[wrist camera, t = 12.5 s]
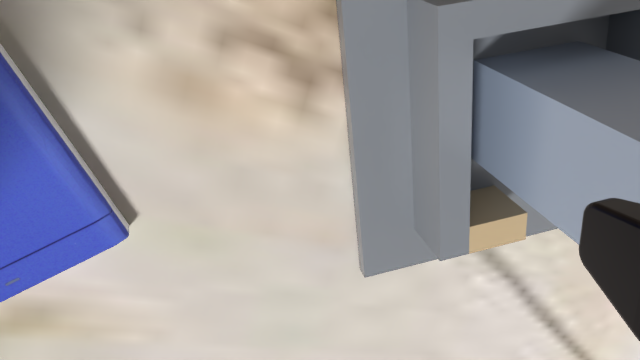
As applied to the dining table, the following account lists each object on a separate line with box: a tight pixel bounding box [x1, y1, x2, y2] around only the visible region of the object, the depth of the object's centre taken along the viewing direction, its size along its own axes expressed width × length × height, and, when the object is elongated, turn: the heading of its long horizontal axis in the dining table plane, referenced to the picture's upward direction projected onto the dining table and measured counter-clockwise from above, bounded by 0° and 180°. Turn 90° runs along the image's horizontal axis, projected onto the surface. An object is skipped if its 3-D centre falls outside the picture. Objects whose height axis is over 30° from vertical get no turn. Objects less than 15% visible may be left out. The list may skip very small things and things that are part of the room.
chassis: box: [336, 0, 640, 277], centre depth 22 cm, size 14×13×3 cm
